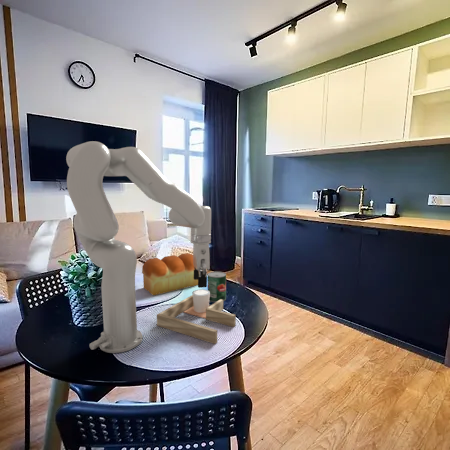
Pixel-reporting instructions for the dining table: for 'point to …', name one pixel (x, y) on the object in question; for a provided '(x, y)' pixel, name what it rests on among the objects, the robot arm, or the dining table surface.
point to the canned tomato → (217, 286)
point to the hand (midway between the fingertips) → (199, 283)
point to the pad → (192, 312)
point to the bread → (168, 273)
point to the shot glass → (201, 300)
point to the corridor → (191, 329)
